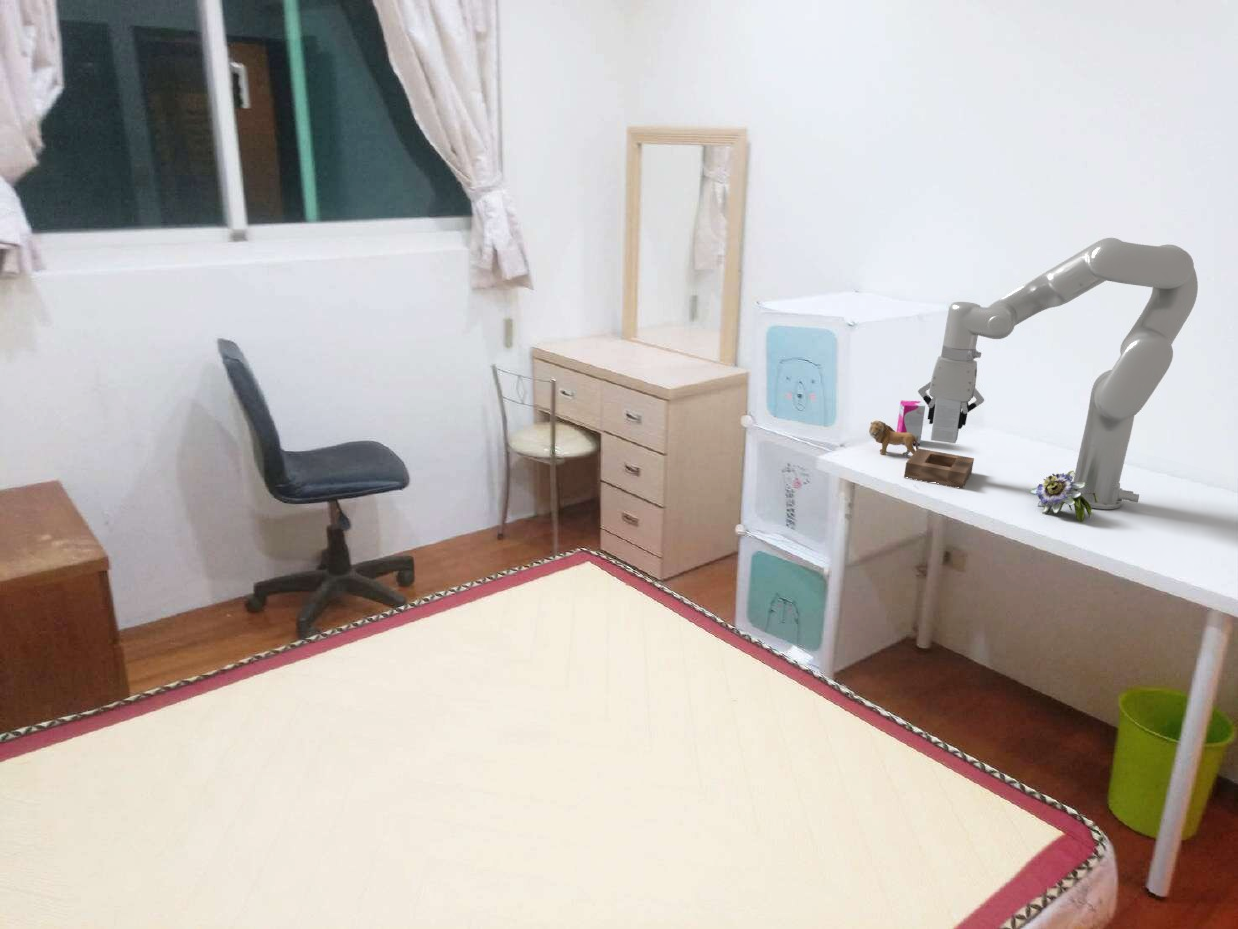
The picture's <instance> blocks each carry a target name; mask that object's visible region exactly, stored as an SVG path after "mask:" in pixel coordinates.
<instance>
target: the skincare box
mask: <svg viewBox="0 0 1238 929" xmlns="http://www.w3.org/2000/svg"><path fill="white" fill-rule="evenodd" d="M961 412H962V407H961V401H955V400H949V399H943V398H938V397H936V403H935V411H934V419H933V424H932V427H931V432H930V433H931V435H930V441H935V442H943V443H949V444H956V442H957V440H958V439H959V438H958V436H959V430H960V429H958V423H959V417H960V413H961Z"/></svg>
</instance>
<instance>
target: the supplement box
mask: <svg viewBox="0 0 1238 929" xmlns="http://www.w3.org/2000/svg"><path fill="white" fill-rule="evenodd" d="M899 404H900V405H899V410H898V418H897V426H896V432H900V433H911V434H913V435H914V436H915V437H916V439H917V443H918V446H921V440H922V433H923V427H924V418H925V411H926V405H925V404H924V403H923V402H922V401H919V400H902V399H901V400H900V403H899ZM913 446H915V442H913Z"/></svg>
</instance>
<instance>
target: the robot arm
mask: <svg viewBox="0 0 1238 929" xmlns="http://www.w3.org/2000/svg"><path fill="white" fill-rule="evenodd" d="M1194 266H1195V265H1194V261H1193V258H1192V256H1191V255H1190V254H1189V252H1187V251H1186V250H1184V248H1182V247H1181V246H1177V245H1175V244H1162V245H1159V246H1157V245H1150V244H1139V243H1133V242H1128V241H1123V240H1121V239H1119V238H1116V237H1105V238H1103V239H1100V240H1098V241H1096V242H1094V243H1092V244H1091V245H1089V246H1087V247H1086V248H1083V250H1080V251H1079V252H1077V253H1076V254H1074V255H1073V256H1070V257H1069V258H1067V259H1065V260H1064V261H1062V262H1061V263H1059V264H1057V265H1056V266H1054V267H1052V268H1050V269H1048V270H1047V271H1045V272H1044V273H1042V274H1040V275H1039V276H1036V278H1034V279H1032V280H1031V281H1029V282H1027V283H1025V284H1023V285H1022V286H1020V287H1018V288H1017V289H1015V290H1013V291H1011V292H1009V293H1008V294H1006V295H1004V296H1003V297H1001V298H999V299H998V300H996V301H994V302H993V303H991V304H990V305H989V306H987V307H983V306H981V305H980V304H978V303H975V302H969V301H968V302H967V301H955V302H952V303H951V304H950V305H949V308H948V311H947V318H946V324H945V325H946V326H945V331H944V337H943V342H942V349H941V355H939V356H938V357H937V359H936V362H935V365H934V368H933V372H932V376H931V380H930V381H929V382H928V383H927V384H925V385H923V386H922V387H921V388H919V389H918V390H917V392H918V394H919V396H921V398H922V399H923V401H924V402H925V403H926V405H927V407H928V413H927V420H928V421H929V422H928V424H929V425H933V419H934V411H935V403H936V397H938V398H943V399H949V400H955V401H961V407H962V410H961V413H960V417H959V423H958V429H959V430H962V428H963V426H966V423H967V418H968V413H970V412H971V411H973V410H974V409H975V408H977V407H979V406H981V404H983V403H984V402H985V398H984V397H983V396H982V394H981V393H980V392H979V390H978V388H976V383H977V376H978V373H977V372H978V361H977V360H975V359H977V358H979V359H980V358H981V357H982V352H981V351H977V343H978V339H979V338H978V337H979V336H980V337H983V338H987V339H992V340H1002V339H1005V338H1007V337H1008V336H1010V335H1011V333H1012V332H1014V329H1015V327H1016V326H1017V325H1019V324H1021V323H1022V322H1024V321H1026V320H1028V319H1029V318H1031V317H1033V316H1035V315H1037V314H1039V313H1041V312H1043V311H1046V310H1048V309H1050V308H1051V309H1052V308H1055V307H1060V306H1063V305H1065V304H1068V303H1069V302H1071V301H1073V300H1074V299H1077V298H1079V297H1080V296H1081V295H1083V294H1086V292H1088V291H1090V290H1092V289H1094V288H1096V287H1097V286H1100V285H1101V284H1103V283H1104V282H1106V281H1108V282H1111V283H1113V282H1114V283H1119V284H1123V285H1130V286H1131V285H1132V286H1138V287H1147V288H1152V291H1151V294H1150V298H1149V299H1148V302H1147V303H1146V305H1145V307H1144V309H1143V310H1142V312H1141V314H1140V315H1139V317H1138V319H1137V320H1136V321H1135V323H1134V324H1133V326H1132V327H1131V329H1130V330H1129V332H1128V333H1127V335H1126V336H1125V338H1124V339H1123V341H1122V342H1121V344H1120V349H1119V351H1120V356H1119V357H1118V359H1117V361H1116V362H1115V364H1114V366H1112V369H1110V370H1107V371H1104V372H1103V373H1101V374H1100V375H1099V376H1098V377H1097V378H1096V379H1095V381H1094V382H1093V384H1092V387H1091V393H1090V396H1089V397H1090V399H1089V404H1088V411H1087V416H1086V422H1085V425H1084V430H1083V435H1082V439H1081V442H1080V449H1079V451H1078V452H1079V453H1078V457H1077V462H1076V467H1075V472H1074V473H1075V474H1074V477H1073V479H1072V481H1073V482H1082V483H1085V486H1084V487H1083V488H1080V489H1078V490H1077V491H1078V492H1080V493H1081V494H1082V495H1081V496H1082V497H1084V499H1085V500H1086V501H1087V502H1088V503H1089V504H1090V506H1091V508H1092V509H1096V510H1097V509H1098V510H1115V509H1119V508H1121V507H1122V505H1123V500H1125V501H1129V502H1134V503H1137V504H1138V502H1139V499H1140V494H1137V493H1134V491H1132V490H1126V489H1123V488H1121V483H1120V481H1121V478H1122V477H1121V476H1122V472H1123V470H1124V464H1125V459H1126V456H1127V452H1128V447H1129V442H1130V439H1131V435H1132V430H1133V426H1134V420H1135V416H1136V415H1137V414H1138V413H1139V412H1140V411H1141V410H1142V408H1143V407H1145V405H1146V404H1147V402H1148V400H1149V399H1150V398H1151V396H1152V395H1153V393H1154V391H1155V390H1156V389H1157V387H1158V386H1159V384H1160V383H1161V381H1162V379H1163V378H1164V377H1165V374H1167V372H1168V370H1169V368H1170V367H1171V363H1172V361H1173V357H1174V350H1173V346H1172V345H1173V343H1174V341H1175V340H1176V338H1177V336H1178V334H1179V333H1180V331H1181V329H1182V328H1183V326H1184V325H1185V323H1186V321H1187V319H1188V318H1189V316H1190V315H1191V313H1192V311H1193V309H1194V306H1195V304H1196V301H1197V297H1198V290H1199V289H1198V288H1199V286H1198V284H1199V283H1198V277H1197V271H1196V269H1195V267H1194ZM928 390H929V391H928ZM927 391H928V393H929V394H928V393H927ZM973 398H975V401H974V402H972V403H970V404H969V402H971V400H972V399H973ZM1093 492H1096V495H1097V499H1098V502H1095V497H1094V495H1093ZM1084 493H1091V494H1084ZM1083 507H1084V505H1083Z"/></svg>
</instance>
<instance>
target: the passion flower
mask: <svg viewBox="0 0 1238 929" xmlns="http://www.w3.org/2000/svg"><path fill="white" fill-rule="evenodd" d="M1074 476H1075V472H1074V470H1069V471H1068V472H1067V473H1064V472H1063V473H1056V474H1055V473H1052V475H1048V476H1046V477H1045V478H1043V481H1044V482H1043V483H1039V484H1038V485H1037V487H1036V488H1032V489H1030V490H1029V492H1030V493H1031V494H1033V495H1037V497H1038V499H1039V502H1038V504H1037V507H1039V508H1043V509H1042V511H1041V513H1042V514H1044V513H1046V514H1048V513H1049V512H1050V511H1051V510H1052V512H1053V513H1054V514H1058V513H1060V512H1061V510H1062V508H1063V506H1064V504H1066V505H1067V506H1068V507H1069V509H1070V511H1073V508H1072V507H1071V506H1074V511H1075V514H1076V518H1077V520H1078V521H1079V522H1081V523H1082V522H1084V518H1085V515H1086V513H1087V516H1088V519H1090V518H1091V514H1093V513H1092V512H1093V511H1092V509H1093V508H1091V506H1090V504H1089V503H1088V502H1087V501H1086V500H1085V499H1084V497H1082V496H1081V495H1082V494H1081V493H1080V492H1078V491H1077V490H1078V489H1080V488H1083V487H1084V486H1085V483H1082V482H1073V480H1074ZM1084 494H1091V493H1084ZM1093 495H1094V497H1095V502H1098V499H1097V495H1096V492H1093ZM1083 505H1084V506H1083Z"/></svg>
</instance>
